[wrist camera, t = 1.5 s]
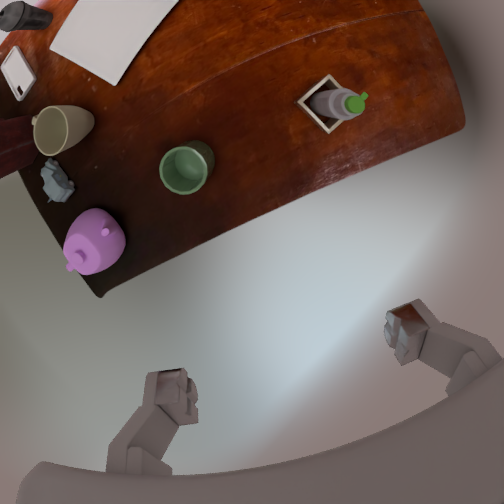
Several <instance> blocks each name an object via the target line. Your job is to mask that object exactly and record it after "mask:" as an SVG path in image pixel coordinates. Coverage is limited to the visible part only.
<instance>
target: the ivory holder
mask: <svg viewBox="0 0 504 504" xmlns="http://www.w3.org/2000/svg"><path fill="white" fill-rule="evenodd" d="M323 84H325V85H326V86H327V87H328V88H329V89H330V90H334V89H340V88H342V87H341V86H340V85H339V84H338V82H337V81H336V80H335V79H334V78H333V77H332V76H331V75H330V74H328V75H326V76H323V77H321V78H320V79H319V80H318V81H317V82H316V83H314V84H313V85H312V86H311V87H310V88H309V89H308V90H306V91H305V92H304V93H303V94H302V95H301V96H300V97H299V98H298V99H296V100H295V101H294V103H295V104H296V105H297V106H298V107H299V108H300V109H301V110H302V111H303V112H304V113H305V114H306V115H307V116H308V117H309V118H310V119H311V120H312V121H313V122H314V123H315V124H316V125H317V126H318V128H319V129H320V130H321V131H324V132H326V133H328V134H329V133H330V132H331V131H333V130H334V129H335V128H336V127H337V126H338V125H339V124H340V123H342V122H343V121H344V120H341V119H337V118H332V117H331V118H330V119H329V120H328V121H327V122H326V123H325V124H324V123H323V122H322V121H321V120H320V119H319V118H318V117H317V116H316V115H315V114H314V113H313V112H312V111H311V110H310V109H309V108H308V107H307V106H306V105H305V104H304V103H303V101H305V100H306V99H307V98H308V97H309V96H310V95H311V94H312V93H314V92H315V91H316V90H317V89H318V88H319V87H320V86H322V85H323Z"/></svg>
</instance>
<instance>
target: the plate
mask: <svg viewBox="0 0 504 504" xmlns="http://www.w3.org/2000/svg"><path fill="white" fill-rule="evenodd" d="M178 1H179V0H79V1H78V2H77V4H76V5H75V7H74V8H73V9H72V11H71V12H70V14H69V16H68V17H67V19H66V20H65V22H64V23H63V25H62V27H61V28H60V30H59V32H58V33H57V35H56V37H55V39H54V41H53V42H52V44H51V46H50V49H51V50H52V51H54V52H56V53H58V54H60V55H62V56H64V57H66V58H67V59H69V60H71V61H73V62H75V63H76V64H78V65H80V66H82V67H83V68H85V69H87V70H89V71H90V72H92V73H94V74H96V75H97V76H99V77H101V78H102V79H104V80H106V81H107V82H109V83H111V84H112V85H114V86H115V85H117V83H118V81H119V80H120V78H121V77H122V75H123V73H124V72H125V70H126V69H127V67H128V66H129V64H130V63H131V61H132V60H133V58H134V57H135V55H136V54H137V52H138V51H139V50H140V48H141V47H142V45H143V44H144V43H145V41H146V40H147V39H148V37H149V36H150V35H151V33H152V32H153V31H154V29H155V28H156V27H157V26H158V24H159V23H160V22H161V21H162V19H163V18H164V17H165V16H166V15H167V13H168V12H169V11H170V10H171V9H172V8H173V6H174V5H175V4H176V3H177V2H178Z"/></svg>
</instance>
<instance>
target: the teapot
mask: <svg viewBox="0 0 504 504" xmlns="http://www.w3.org/2000/svg"><path fill="white" fill-rule="evenodd" d="M125 243H126V241H125V235H124V232H123V230H122V229H121V227H120V226H119V224H118V223H117V222H116V220H115V219H114V218H113V217H112V216H111V215H110V214H109V213H107V212H106V211H104V210H102V209H99V208H93V209H89V210H87V211H85V212H83V213H82V214H81V215H80V216H79V217H78V218H77V219H76V220H75V221H74V222H73V224H72V225H71V227H70V229H69V231H68V234H67V236H66V240H65V243H64V248H63V251H64V255H65V257H66V258H67V260H68V261H69V263H68V264H67V265H66V268H67V270H68V271H72V270H73V269H74V268H75V269H76V270H77V271H78V272H79V273H81V274H83V275H89V274H93V273H97V272H100V271H102V270H104V269H106V268H108V267H109V266H111V265H112V264H113V263H115V262H116V261H117V260H118V258H119V257H120V256H121V254H122V253H123V251H124V248H125Z"/></svg>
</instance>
